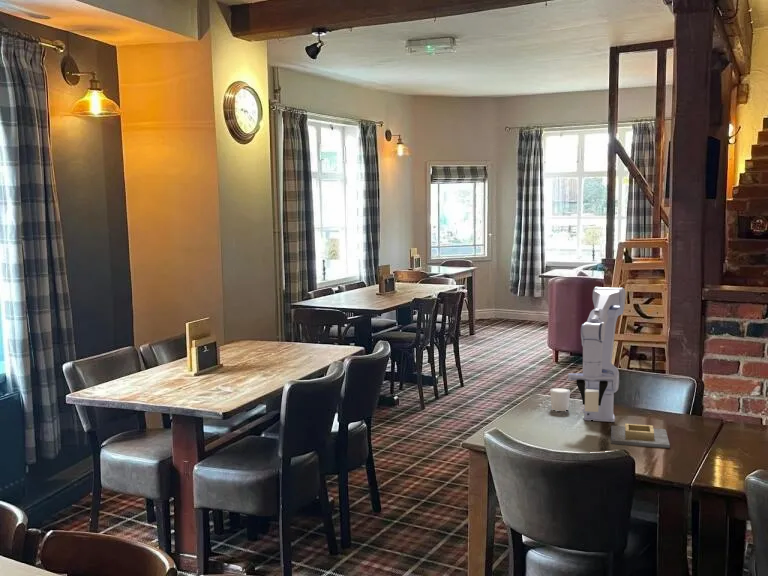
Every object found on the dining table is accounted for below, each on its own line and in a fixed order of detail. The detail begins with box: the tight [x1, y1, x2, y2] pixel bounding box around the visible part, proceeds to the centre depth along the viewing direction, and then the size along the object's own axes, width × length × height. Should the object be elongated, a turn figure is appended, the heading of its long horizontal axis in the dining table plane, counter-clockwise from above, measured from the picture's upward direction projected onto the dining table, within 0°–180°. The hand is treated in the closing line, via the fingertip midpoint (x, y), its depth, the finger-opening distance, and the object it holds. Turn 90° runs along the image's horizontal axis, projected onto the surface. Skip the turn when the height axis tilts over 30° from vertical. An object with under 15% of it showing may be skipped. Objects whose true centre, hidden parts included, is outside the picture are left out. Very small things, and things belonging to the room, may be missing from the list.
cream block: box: [585, 388, 599, 412], centre depth 224 cm, size 4×4×6 cm
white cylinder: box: [549, 387, 571, 412], centre depth 250 cm, size 7×7×7 cm
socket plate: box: [610, 423, 671, 449], centre depth 217 cm, size 16×16×3 cm
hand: (591, 404), depth 224 cm, fingers closed on cream block, 4 cm apart
